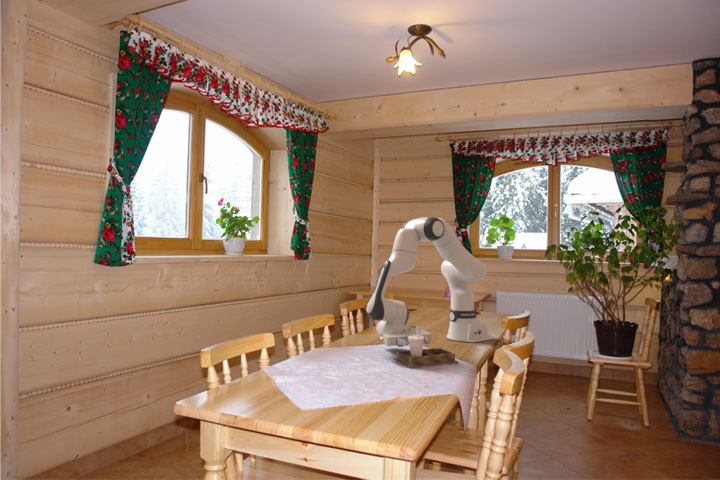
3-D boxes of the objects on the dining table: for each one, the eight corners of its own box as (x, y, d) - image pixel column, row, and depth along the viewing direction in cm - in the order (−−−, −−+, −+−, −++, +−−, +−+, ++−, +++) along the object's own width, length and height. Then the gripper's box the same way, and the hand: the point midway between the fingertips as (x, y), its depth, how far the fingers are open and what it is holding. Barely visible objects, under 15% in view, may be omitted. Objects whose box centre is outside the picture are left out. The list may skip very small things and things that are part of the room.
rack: (440, 355, 197) (440, 347, 197) (454, 361, 188) (455, 353, 188) (397, 359, 189) (397, 351, 189) (410, 366, 180) (410, 358, 180)
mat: (440, 355, 199) (440, 354, 199) (458, 363, 187) (458, 361, 187) (393, 359, 190) (393, 358, 190) (409, 368, 178) (409, 367, 178)
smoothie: (426, 363, 182) (425, 327, 182) (409, 364, 182) (408, 328, 181) (423, 358, 189) (422, 323, 188) (407, 359, 189) (406, 324, 188)
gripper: (377, 329, 194) (393, 336, 181) (421, 326, 202) (439, 332, 190) (377, 344, 194) (393, 352, 181) (420, 341, 202) (438, 348, 190)
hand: (417, 342), depth 186 cm, fingers open, 8 cm apart
